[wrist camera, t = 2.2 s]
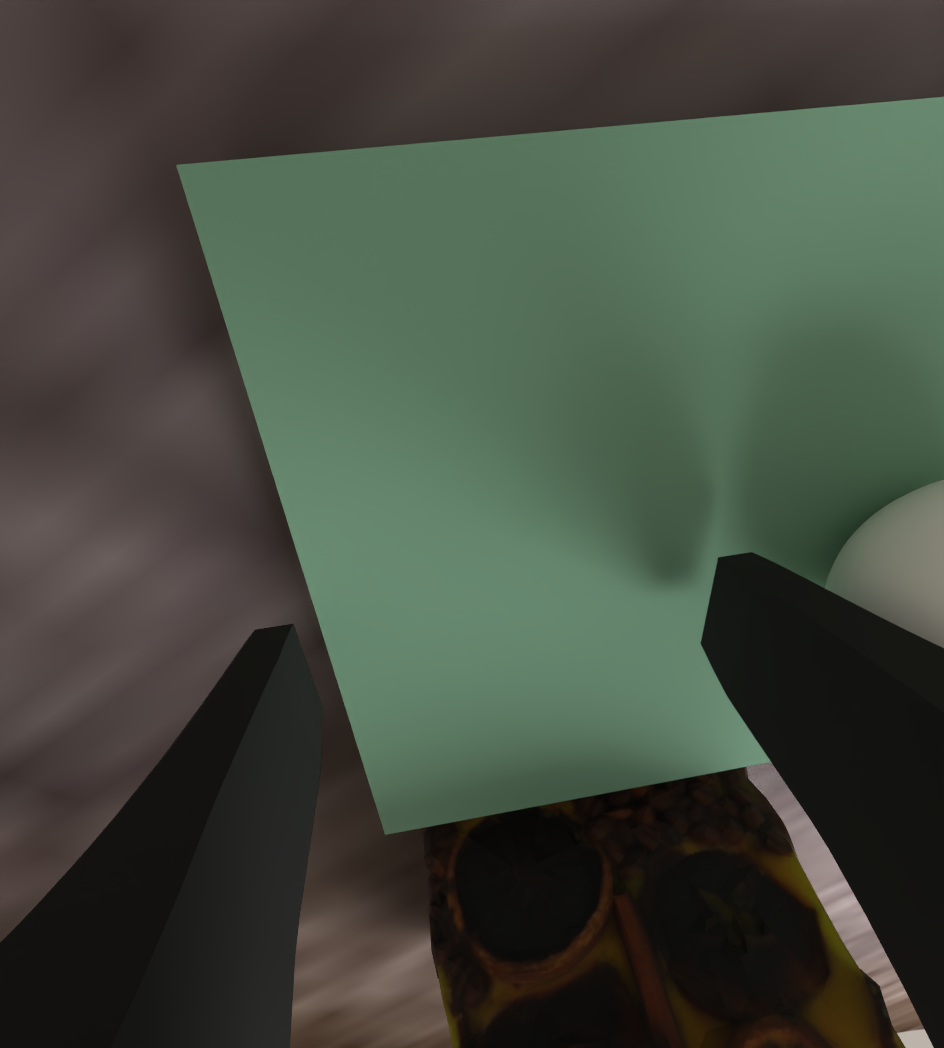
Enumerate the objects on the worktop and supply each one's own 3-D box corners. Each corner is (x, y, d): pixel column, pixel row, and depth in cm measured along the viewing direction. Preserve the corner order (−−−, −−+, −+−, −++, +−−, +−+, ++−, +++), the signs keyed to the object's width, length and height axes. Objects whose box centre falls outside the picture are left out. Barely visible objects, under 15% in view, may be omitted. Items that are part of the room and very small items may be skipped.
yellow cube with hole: (415, 801, 17) (452, 1429, 8) (732, 727, 17) (1075, 1257, 9) (468, 938, 22) (522, 1396, 14) (706, 880, 23) (899, 1292, 14)
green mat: (1611, 43, 10) (1873, 13, 8) (1144, 627, 17) (1227, 675, 15) (220, 168, 8) (175, 165, 6) (384, 763, 15) (385, 835, 14)
